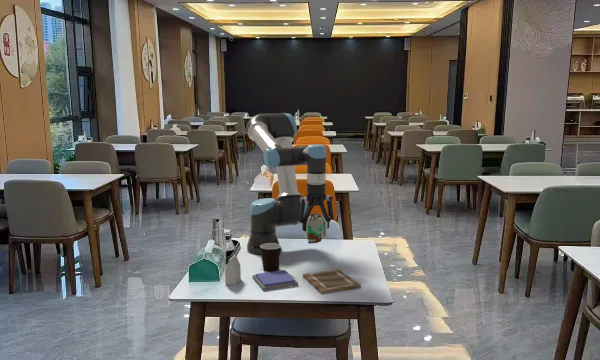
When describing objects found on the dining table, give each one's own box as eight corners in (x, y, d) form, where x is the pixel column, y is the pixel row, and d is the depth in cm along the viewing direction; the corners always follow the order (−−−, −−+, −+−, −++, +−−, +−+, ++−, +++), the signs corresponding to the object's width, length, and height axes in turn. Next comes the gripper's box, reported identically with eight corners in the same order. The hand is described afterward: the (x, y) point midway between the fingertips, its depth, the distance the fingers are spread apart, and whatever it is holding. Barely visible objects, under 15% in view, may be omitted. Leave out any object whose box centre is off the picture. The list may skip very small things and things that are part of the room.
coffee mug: (275, 274, 211) (275, 250, 209) (256, 271, 214) (256, 247, 213) (288, 265, 221) (288, 242, 220) (270, 262, 225) (269, 240, 223)
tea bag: (240, 279, 206) (240, 254, 204) (234, 285, 199) (233, 260, 198) (231, 278, 207) (231, 254, 205) (225, 284, 200) (224, 259, 198)
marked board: (302, 276, 208) (302, 273, 208) (339, 271, 214) (339, 268, 214) (321, 293, 191) (321, 290, 191) (360, 287, 196) (360, 284, 196)
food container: (322, 245, 210) (323, 221, 208) (307, 244, 211) (307, 220, 209) (325, 236, 222) (325, 213, 220) (311, 235, 223) (311, 212, 221)
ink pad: (252, 278, 207) (252, 273, 206) (285, 273, 212) (285, 268, 211) (262, 290, 194) (262, 285, 193) (298, 285, 199) (298, 280, 198)
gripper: (295, 186, 205) (295, 242, 209) (343, 183, 212) (342, 237, 217) (289, 183, 212) (289, 237, 216) (335, 179, 219) (334, 232, 224)
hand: (315, 237), depth 217 cm, fingers closed on food container, 8 cm apart
